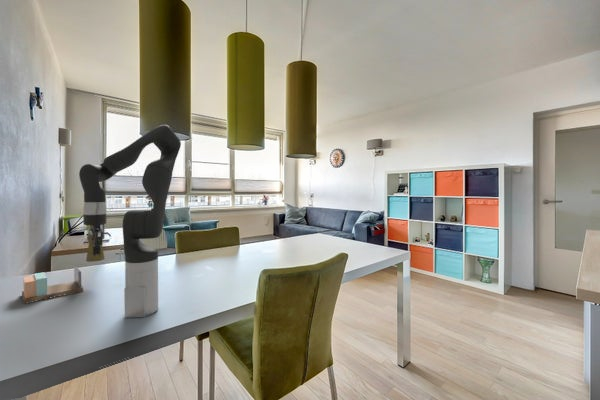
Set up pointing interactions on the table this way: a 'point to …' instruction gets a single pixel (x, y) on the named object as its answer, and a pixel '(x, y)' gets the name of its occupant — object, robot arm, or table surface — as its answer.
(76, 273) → the bookend
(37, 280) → the books
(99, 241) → the robot arm
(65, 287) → the shelf board
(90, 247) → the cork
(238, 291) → the table surface
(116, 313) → the table surface
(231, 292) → the table surface
